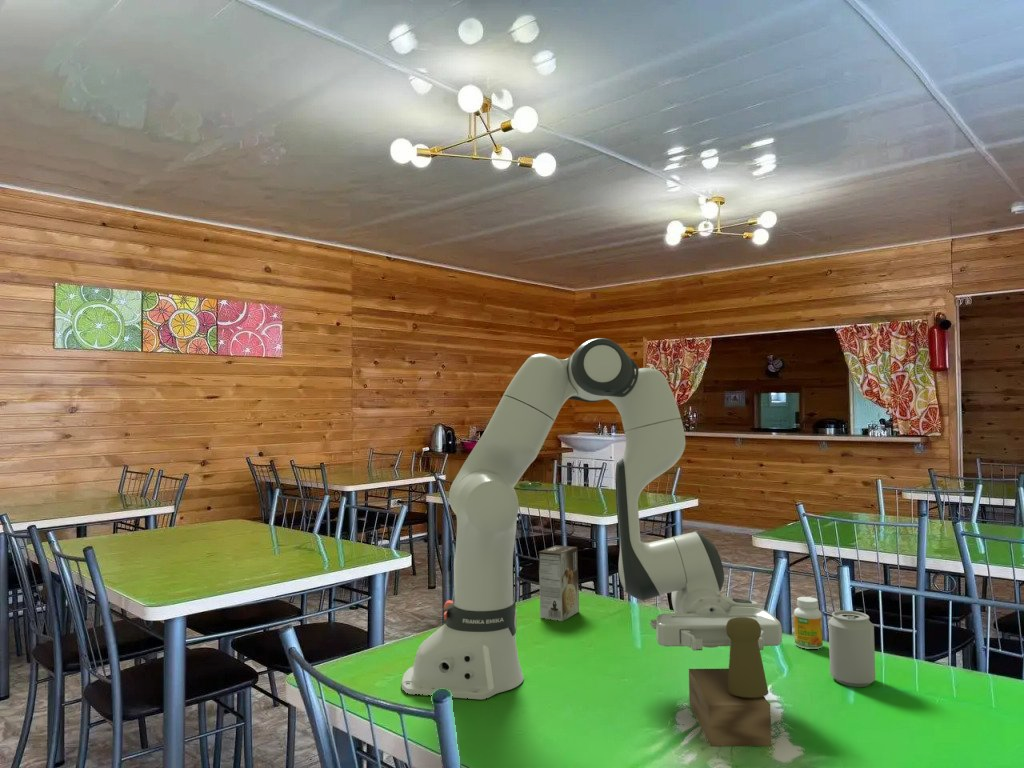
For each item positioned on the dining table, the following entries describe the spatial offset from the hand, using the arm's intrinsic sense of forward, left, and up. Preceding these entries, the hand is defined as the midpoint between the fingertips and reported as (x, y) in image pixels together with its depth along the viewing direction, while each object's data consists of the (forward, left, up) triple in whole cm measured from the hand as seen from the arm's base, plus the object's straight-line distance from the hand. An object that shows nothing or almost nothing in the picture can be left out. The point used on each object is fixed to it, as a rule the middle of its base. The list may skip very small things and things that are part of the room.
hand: (728, 645), depth 114 cm
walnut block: (0, +2, -13) cm, 13 cm away
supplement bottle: (+26, +39, -13) cm, 49 cm away
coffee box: (-25, +63, -13) cm, 69 cm away
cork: (+3, -1, -7) cm, 7 cm away
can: (+27, +20, -13) cm, 36 cm away
